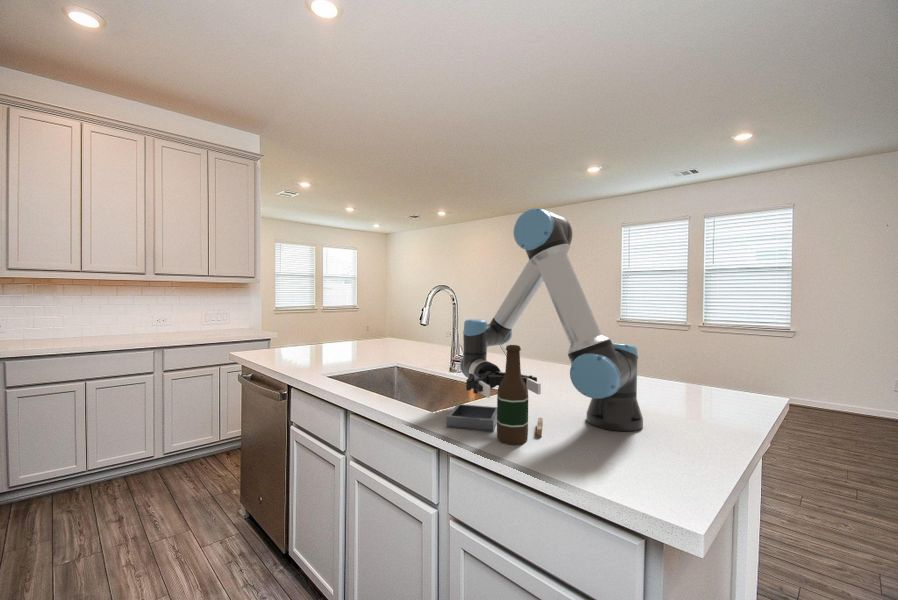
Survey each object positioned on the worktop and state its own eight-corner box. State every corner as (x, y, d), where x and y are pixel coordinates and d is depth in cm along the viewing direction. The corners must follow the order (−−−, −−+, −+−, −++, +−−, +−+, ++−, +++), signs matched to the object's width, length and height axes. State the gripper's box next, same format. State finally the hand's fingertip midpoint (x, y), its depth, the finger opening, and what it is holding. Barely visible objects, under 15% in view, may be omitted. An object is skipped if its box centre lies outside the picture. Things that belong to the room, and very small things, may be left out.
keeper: (499, 417, 121) (499, 407, 121) (493, 431, 108) (493, 420, 108) (457, 413, 124) (457, 404, 124) (446, 427, 111) (446, 416, 111)
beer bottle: (527, 446, 98) (528, 348, 97) (495, 444, 99) (496, 346, 99) (527, 435, 105) (529, 344, 105) (498, 433, 107) (499, 343, 107)
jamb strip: (538, 424, 114) (538, 417, 114) (542, 425, 114) (542, 418, 114) (536, 436, 105) (536, 429, 105) (541, 437, 104) (541, 429, 104)
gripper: (523, 384, 124) (559, 402, 104) (444, 388, 118) (466, 408, 97) (523, 359, 124) (559, 373, 104) (444, 362, 118) (466, 377, 97)
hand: (514, 390), depth 100 cm, fingers open, 13 cm apart
